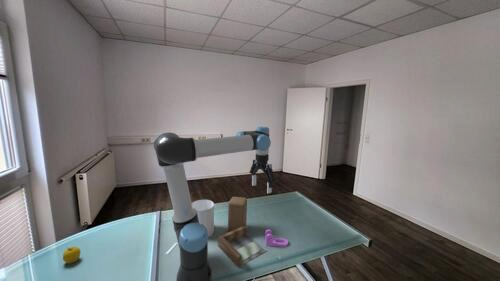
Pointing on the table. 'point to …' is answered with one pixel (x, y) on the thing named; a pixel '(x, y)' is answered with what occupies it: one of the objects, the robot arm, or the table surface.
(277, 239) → the bracket
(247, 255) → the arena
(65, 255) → the apple
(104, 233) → the table surface
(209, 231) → the container
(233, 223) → the wooden block
